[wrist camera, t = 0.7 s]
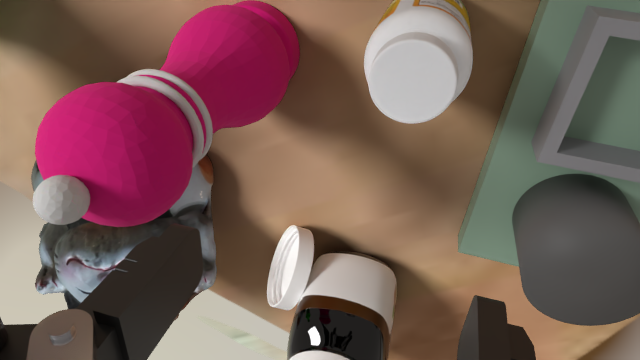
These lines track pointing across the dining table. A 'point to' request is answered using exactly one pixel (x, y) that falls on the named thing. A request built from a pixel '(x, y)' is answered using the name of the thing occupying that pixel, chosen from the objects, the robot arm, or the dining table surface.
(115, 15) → the dining table surface
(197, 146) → the pepper mill
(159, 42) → the dining table surface
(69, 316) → the robot arm
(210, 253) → the lucky cat figurine
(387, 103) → the supplement bottle
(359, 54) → the dining table surface
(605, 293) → the desk organizer tray
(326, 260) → the spread jar
